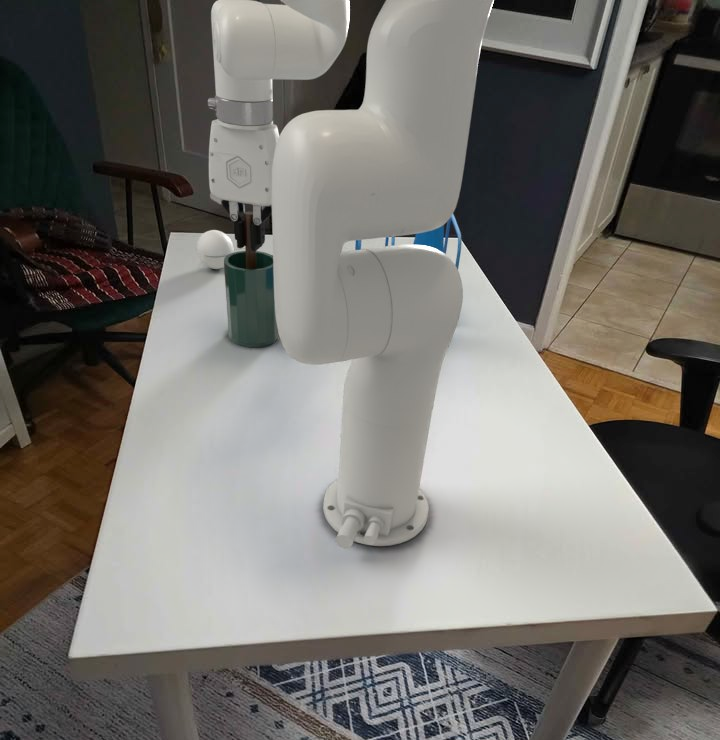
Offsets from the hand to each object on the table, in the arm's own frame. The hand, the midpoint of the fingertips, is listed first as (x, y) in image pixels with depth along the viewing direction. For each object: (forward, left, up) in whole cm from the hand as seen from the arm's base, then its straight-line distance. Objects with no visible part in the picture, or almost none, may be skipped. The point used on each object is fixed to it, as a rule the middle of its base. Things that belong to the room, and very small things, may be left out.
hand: (250, 246), depth 100 cm
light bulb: (+24, +17, -15) cm, 33 cm away
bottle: (+10, -26, -15) cm, 32 cm away
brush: (0, 0, -13) cm, 13 cm away
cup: (0, 0, -15) cm, 15 cm away
